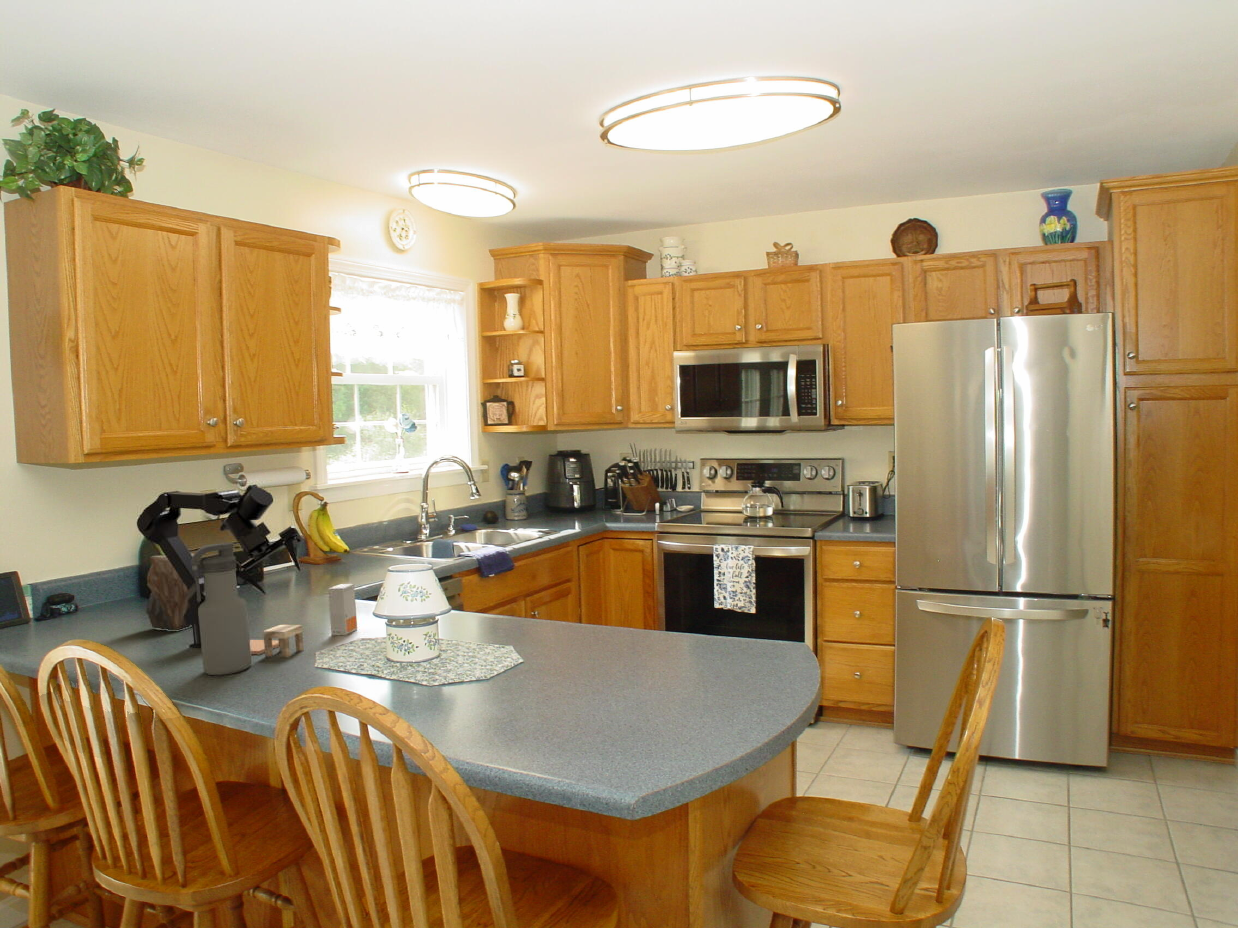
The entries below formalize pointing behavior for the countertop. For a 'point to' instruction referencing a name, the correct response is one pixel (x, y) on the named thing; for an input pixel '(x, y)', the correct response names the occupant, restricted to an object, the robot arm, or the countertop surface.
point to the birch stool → (283, 639)
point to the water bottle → (221, 612)
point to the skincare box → (342, 609)
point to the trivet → (261, 646)
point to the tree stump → (166, 595)
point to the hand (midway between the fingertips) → (283, 582)
